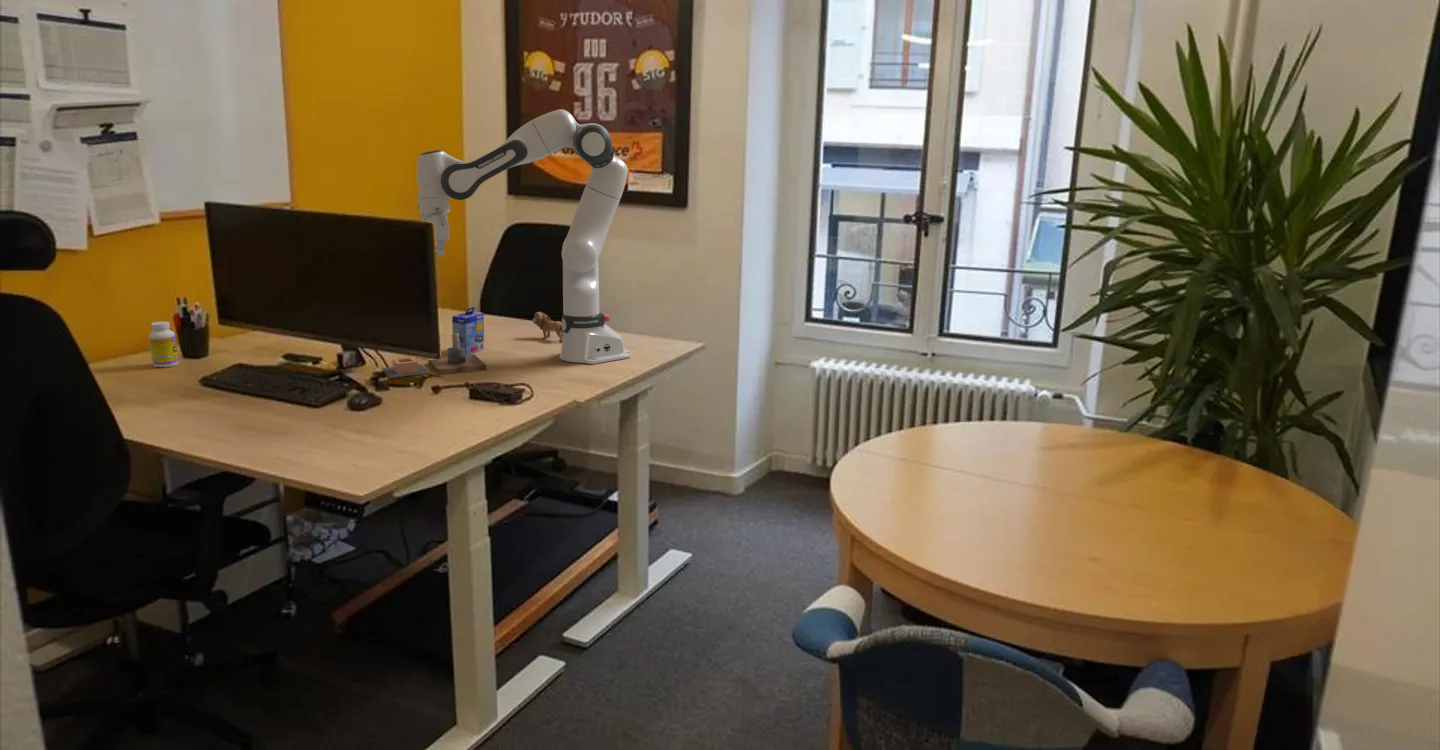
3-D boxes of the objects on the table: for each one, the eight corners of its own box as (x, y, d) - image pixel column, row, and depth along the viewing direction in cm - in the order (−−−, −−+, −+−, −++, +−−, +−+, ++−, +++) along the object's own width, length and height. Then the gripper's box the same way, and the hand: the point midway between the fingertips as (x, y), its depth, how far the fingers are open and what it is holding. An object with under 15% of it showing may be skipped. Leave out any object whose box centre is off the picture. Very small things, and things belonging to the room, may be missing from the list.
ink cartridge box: (466, 355, 301) (464, 310, 297) (452, 353, 303) (450, 308, 299) (486, 349, 310) (484, 305, 306) (472, 347, 312) (469, 303, 308)
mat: (421, 365, 289) (421, 363, 288) (429, 374, 279) (428, 372, 279) (383, 369, 283) (383, 367, 283) (389, 378, 274) (389, 377, 274)
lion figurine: (530, 338, 325) (529, 312, 322) (540, 335, 329) (539, 309, 327) (565, 344, 318) (565, 317, 316) (575, 340, 323) (574, 314, 321)
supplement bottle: (178, 367, 282) (172, 324, 278) (152, 369, 279) (146, 326, 275) (179, 361, 287) (173, 319, 284) (154, 363, 285) (147, 321, 281)
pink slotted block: (414, 366, 285) (413, 357, 284) (418, 371, 280) (417, 361, 279) (393, 368, 282) (392, 359, 282) (397, 373, 277) (396, 363, 276)
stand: (474, 358, 297) (472, 327, 295) (486, 369, 286) (484, 337, 283) (428, 363, 291) (426, 331, 288) (438, 374, 279) (436, 341, 276)
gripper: (453, 209, 275) (456, 257, 279) (437, 203, 292) (440, 248, 296) (431, 210, 272) (434, 258, 276) (416, 203, 289) (419, 249, 293)
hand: (437, 253), depth 286 cm, fingers open, 8 cm apart
